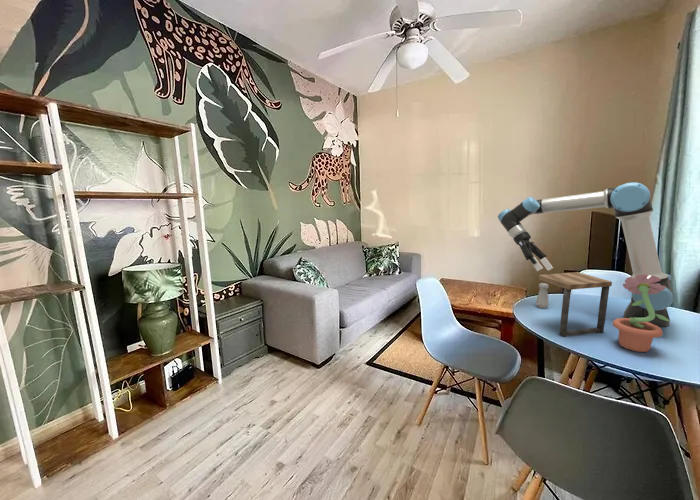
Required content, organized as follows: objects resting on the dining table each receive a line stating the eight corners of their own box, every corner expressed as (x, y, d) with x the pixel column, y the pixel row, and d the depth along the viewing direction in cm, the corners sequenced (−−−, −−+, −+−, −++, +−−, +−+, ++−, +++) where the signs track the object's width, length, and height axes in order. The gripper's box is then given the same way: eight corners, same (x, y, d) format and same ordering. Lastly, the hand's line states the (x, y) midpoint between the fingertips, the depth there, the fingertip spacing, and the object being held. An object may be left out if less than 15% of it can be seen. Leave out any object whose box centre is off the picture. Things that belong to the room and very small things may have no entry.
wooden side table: (573, 318, 142) (578, 272, 138) (605, 332, 126) (612, 281, 122) (534, 321, 139) (538, 274, 135) (562, 337, 124) (568, 285, 119)
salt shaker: (534, 307, 156) (536, 283, 154) (536, 304, 160) (538, 281, 158) (547, 309, 152) (549, 285, 150) (549, 306, 156) (551, 283, 154)
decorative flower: (661, 346, 114) (674, 272, 108) (665, 362, 104) (680, 280, 98) (610, 335, 124) (619, 266, 118) (609, 348, 114) (620, 274, 108)
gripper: (523, 240, 164) (547, 272, 154) (502, 238, 149) (528, 273, 139) (535, 232, 159) (561, 265, 149) (515, 228, 144) (543, 265, 134)
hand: (545, 269), depth 144 cm, fingers open, 13 cm apart
